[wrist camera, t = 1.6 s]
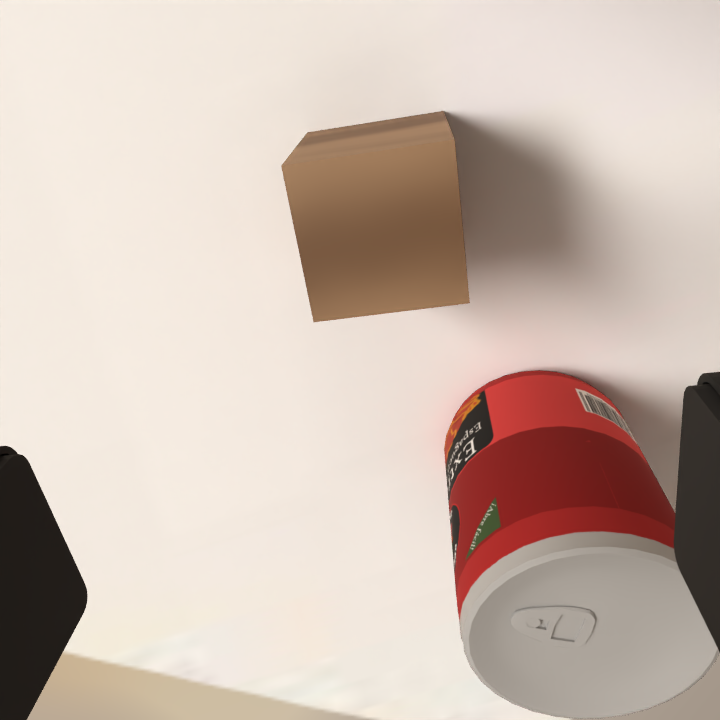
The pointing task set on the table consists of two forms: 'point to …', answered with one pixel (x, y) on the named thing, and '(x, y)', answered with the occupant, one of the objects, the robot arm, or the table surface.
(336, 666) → the table surface
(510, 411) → the canned food
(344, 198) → the walnut block
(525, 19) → the table surface
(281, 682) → the table surface
